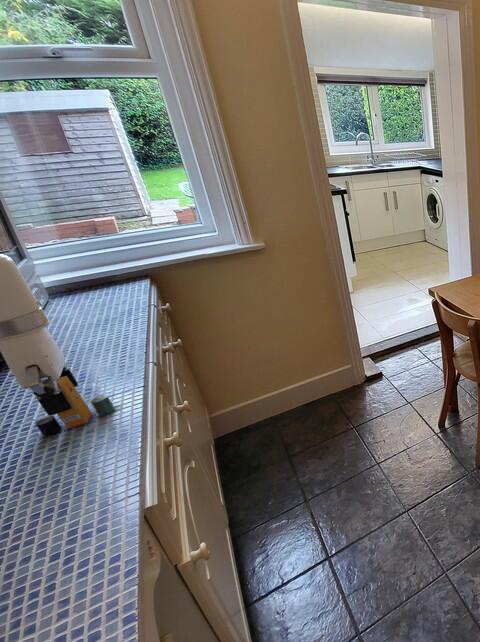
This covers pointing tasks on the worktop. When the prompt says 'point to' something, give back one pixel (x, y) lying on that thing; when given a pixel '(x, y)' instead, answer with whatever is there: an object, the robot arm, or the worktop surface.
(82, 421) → the supplement box
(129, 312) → the worktop surface
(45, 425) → the black cylinder
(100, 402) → the teal green cylinder
